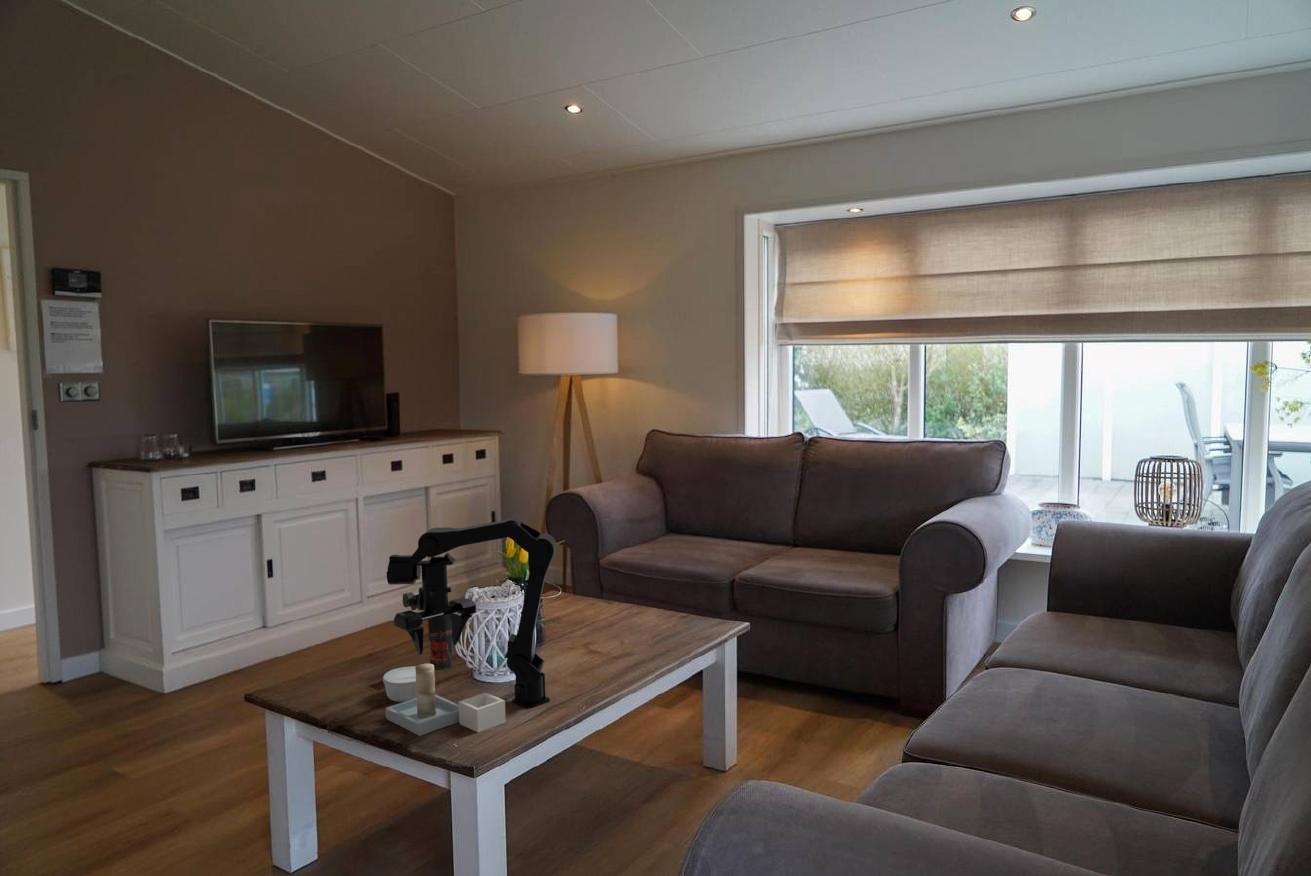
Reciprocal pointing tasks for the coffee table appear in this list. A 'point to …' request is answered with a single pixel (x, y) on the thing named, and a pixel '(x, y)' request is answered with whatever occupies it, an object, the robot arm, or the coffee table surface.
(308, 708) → the coffee table surface
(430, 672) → the beech dowel
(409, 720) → the slate tray
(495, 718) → the white open box
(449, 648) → the deodorant
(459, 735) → the coffee table surface
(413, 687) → the ramekin
